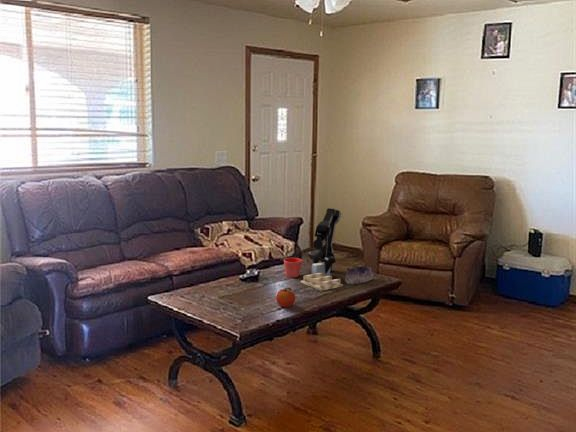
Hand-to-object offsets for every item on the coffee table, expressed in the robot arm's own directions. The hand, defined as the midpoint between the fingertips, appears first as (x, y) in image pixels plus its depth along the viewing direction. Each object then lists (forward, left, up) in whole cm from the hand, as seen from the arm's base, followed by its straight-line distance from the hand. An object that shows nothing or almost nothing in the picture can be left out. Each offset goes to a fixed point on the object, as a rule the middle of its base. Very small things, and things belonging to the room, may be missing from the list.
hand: (321, 271), depth 350 cm
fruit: (+50, +32, -3) cm, 59 cm away
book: (0, 0, -3) cm, 3 cm away
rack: (+10, +13, -3) cm, 16 cm away
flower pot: (+14, -9, -3) cm, 17 cm away
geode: (-13, +18, -4) cm, 23 cm away
